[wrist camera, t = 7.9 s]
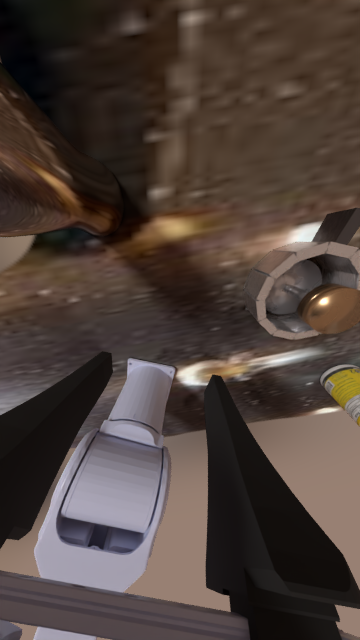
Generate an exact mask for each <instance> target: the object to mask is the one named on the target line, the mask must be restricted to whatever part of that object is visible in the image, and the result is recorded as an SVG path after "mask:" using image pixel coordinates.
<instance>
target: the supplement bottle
mask: <svg viewBox="0 0 360 640" xmlns="http://www.w3.org/2000/svg"><path fill="white" fill-rule="evenodd" d="M320 382H321V384H322V386H323V387H324V388H325V389H326V390H327V391H328V393H329V394H330V395H331V396H332V397H333V398H334V399H335V400H336V401H337V402H338V403H339V405H340V406H341V407H342V408H343V409H344V410H345V411H346V412H347V413H348V414H349V415H350V417H351V418H352V419H353V420H354V421H355V422H356V423H357V424H358V425H359V426H360V368H359V367H357V366H354V365H348V364H345V365H338V366H335V367H332V368H330V369H329V370H327V371H326V372H324V373H323V375H322V376H321V379H320Z"/></svg>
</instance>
